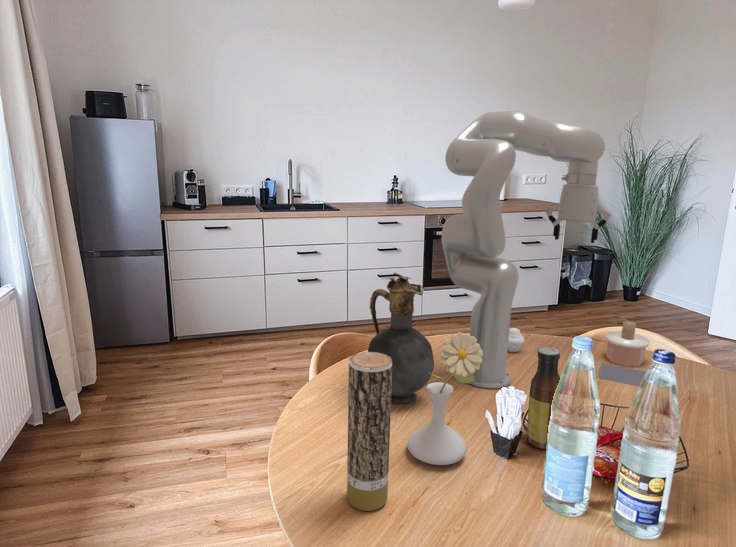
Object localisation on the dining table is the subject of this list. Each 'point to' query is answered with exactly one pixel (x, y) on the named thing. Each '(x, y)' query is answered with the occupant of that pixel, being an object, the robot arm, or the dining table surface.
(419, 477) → the dining table surface
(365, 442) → the paper tube
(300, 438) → the dining table surface
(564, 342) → the dining table surface
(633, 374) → the mat
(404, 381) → the pitcher
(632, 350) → the bowl
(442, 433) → the flower in vase
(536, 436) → the sauce bottle
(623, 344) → the lid
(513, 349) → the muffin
